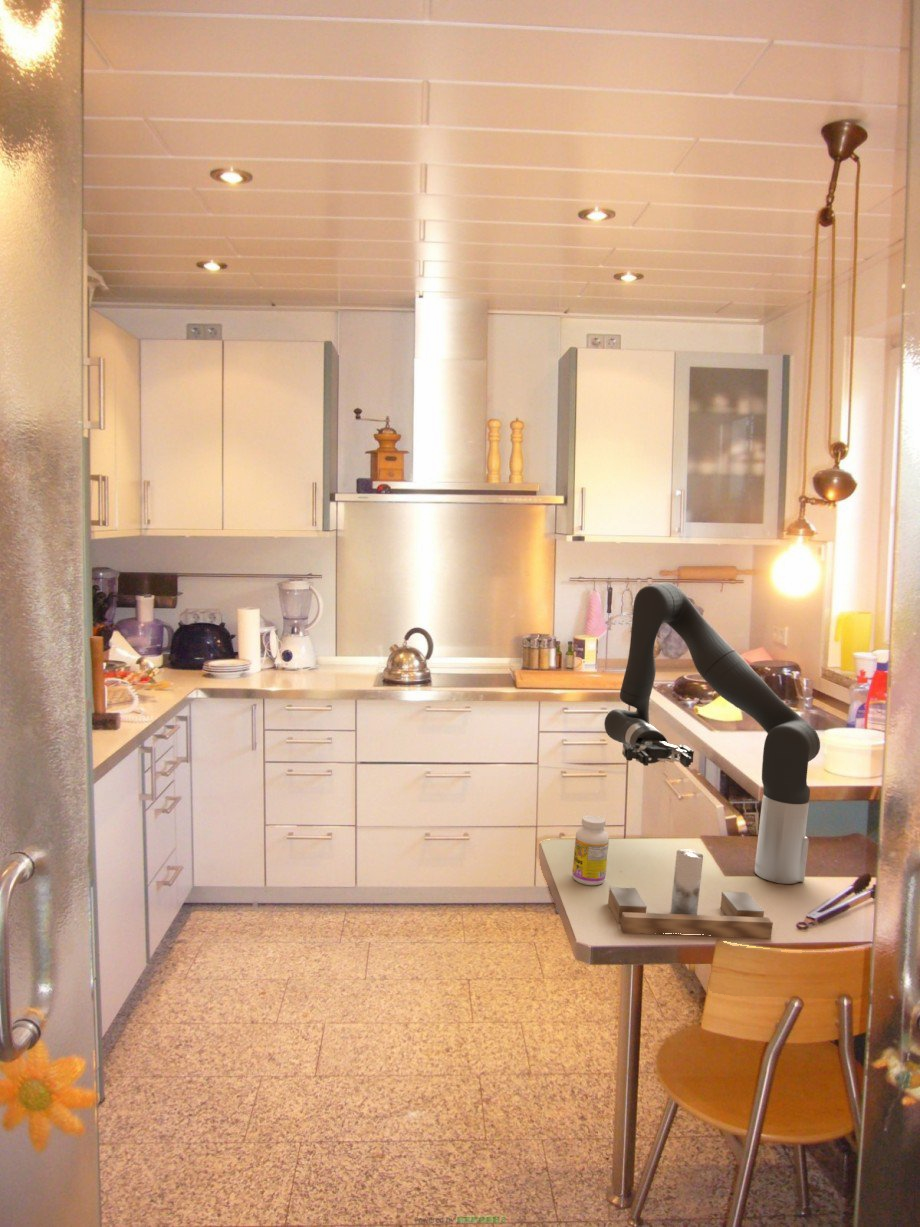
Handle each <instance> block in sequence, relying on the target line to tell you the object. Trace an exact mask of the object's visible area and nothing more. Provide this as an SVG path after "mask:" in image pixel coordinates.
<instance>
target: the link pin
mask: <svg viewBox="0 0 920 1227" xmlns="http://www.w3.org/2000/svg"><path fill="white" fill-rule="evenodd" d="M703 860H704V855H703V854H702V852H700V851H697V850H695V849H688V848H681V849H678V850H677V851H676V855H675V865H674V875H673V886H672V894H671V905H670V913H671V914H686V915H698V908H699V900H700V899H699V897H700V891H701V890H700V889H701V882H702V881H701V880H702V870H703V862H704V861H703Z"/></svg>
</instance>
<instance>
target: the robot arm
mask: <svg viewBox="0 0 920 1227" xmlns="http://www.w3.org/2000/svg"><path fill="white" fill-rule="evenodd" d="M662 624H667V625H668V626H669V627H670V628H672V629H673V631H674V632H675V633H676V634H678V636H679V637H680V638H681V639H682V640H683V642H684V643H685V645H686V646H687V649H688V651H689V654H690V657H691V659H692V662H693V665H694V666H695V670H697V672H698V674H699V675H700V676H701V677H702V679H703V680H704V681H705V682H706V683H707V684H708V685H709V686H710V687H711V689H713V690H714V692H716V693H717V695H719V696H720V697H721V698H723V699H724V700H725V701H727V702H728V703H730V704H732V705H733V706H734V707H736V708H737V709H739V710H741V711H742V712H744V713H746V715H749V716H750V717H751V718H752V719H754V721H756V723H758V724H759V726H760V727H762V729H763V730H764V731H765V732H766V734H767V735H766V737H765V740H764V746H763V752H762V762H761V763H762V764H761V783H762V785H763V787H762V788H763V790H762V800H761V808H760V809H761V810H760V817H759V825H758V826H759V827H758V836H757V844H756V845H757V846H756V851H755V861H754V874H756V875H757V876H758V877H760V878H761V879H764V880H766V881H769V882H771V883H777V884H783V885H787V884H788V885H791V884H797V883H800V882H805V874H806V867H807V866H806V865H807V858H808V849H809V841H810V840H809V837H808V836H807V835H806V832H807V831H806V830H807V823H808V813H809V804H810V799H811V798H810V796H811V790H810V787H809V786H808V782H807V778H808V768H809V762H811V761H812V760H814V759H815V758H816V757H817V756H818V754H819V752H820V749H821V740H820V737H819V735H818V733H817V731H816V730H815V728H814V727H813V726H812V724H810V723H809V722H808V721H807V720H805V719H804V718H803V717H802V716H801V715H800V714H798V713H797V712H796V711H795V710H794V709H792V708H791V707H790V706H789V705H788V704H787V703H785V702H784V701H783V700H782V699H781V698H780V697H779V696H778V695H777V694H776V693H775V692H774V690H772V688H771V687H770V686H769V685H768V684H767V683H766V682H765V681H764V679H762V677H761V676H760V675H759V674H758V673H757V672H756V671H755V670H754V669H753V668H752V666H750V664H748V662H747V661H746V660H745V659H744V658H743V656H741V655H740V654H739V653H738V651H736V649H734V648H733V647H732V646H731V645H730V644H729V643H728V642H727V641H726V640H725V639H724V638H723V637H722V636H721V635H720V634H719V633H718V631H716V629H714V627H713V626H711V624H710V623H708V621H707V619H706V618H704V617H703V615H701V613H700V612H699V610H698V608H696V607H695V604H693V603H692V601H691V600H690V599H689V598H688V596H687V595H686V594H685V593H684V591H683V590H682V589H681V588H680V587H679V586H678V585H675V584H674V583H671V582H668V581H667V582H666V581H664V582H659V583H654V584H653V583H652V584H648V585H646V586H644V587H642V588H640V589H639V590H638V591H637V593H636V594H635V597H634V602H633V608H632V618H631V632H630V640H629V653H628V659H627V662H626V663H627V664H626V666H625V667H626V668H625V672H624V675H623V676H624V677H623V679H622V683H621V688H620V692H619V699H620V701H622V703H624V704H626V705H628V706H630V707H633V708H635V709H636V710H635V711H633V710H627V709H617V708H615V709H612V710H611V711H610V710H609V712H608V713H607V714H606V717H605V719H604V730H605V732H606V735H607V736H608V737H609V738H611V740H613V741H616V742H619V743H622V753H621V754H622V755H623V757H624V758H625V759H626V760H627V761H629V762H630V761H633V759H635V762H638V763H640V764H642V765H643V766H649V764H656V763H659V762H662V761H665V762H669V763H672V764H673V763H680V764H681V765H682V766H683V767H685V768H689V767H690V766H691V764H692V763H694V754H695V750H693V749H691V748H690V747H689V746H687V745H686V744H683V743H681V744H679V747H678V746H677V745H674V744H671V743H669V742H668V740H667V738H666V736H665V735H664V734H663V733H662V732H661V731H659V730H658V728H656V727H654V726H653V725H652V724H650V712H649V710H650V701H651V700H650V698H651V694H652V690H653V688H654V682H655V678H656V669H657V668H656V660H655V658H656V657H655V643H656V639H657V636H658V634H659V630H660V628H661V626H662Z"/></svg>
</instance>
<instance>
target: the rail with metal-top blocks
mask: <svg viewBox="0 0 920 1227" xmlns="http://www.w3.org/2000/svg"><path fill="white" fill-rule="evenodd" d="M608 891H609V892H608V901H607V904H608V906H609V908H610V910H611V913H612V915H613V916H614V919H615V920H616V922H617V923H618V924H620V929H621V931H622V933H623V934H631V933H633V934H634V933H645V934H644V935H658V934H663V933H664V934H665V933H672V934H673V933H674V934H675V933H677V934H678V933H679V934H680V933H681V934H701V935H702V934H704V935H711V936H710V937H715V936H716V937H717V938H718V937H719V938H744V939H745V938H746V939H747V938H748V939H749V938H751V939H752V938H753V939H772V934H773V933H772V932H773V924H774V922H773V921H772V920H771V919H770V918H769V917H765V916H764V915H765V911H764V909H763V908H762V907H761V906H760V905H759V904H758V903H757V901H755V899H754V898H753V897H752V896H751V895H750V893H749V892H745V891H744V892H743V891H721V900H720V909H721V911H722V912H723V913H724V914H725V915H713V914H712V915H711V914H709V915H707V914H697V915H686V914H670V913H658V912H657V913H653V912H651V913H649V912H647V905H646V904H645V902H644V900H643V898H642V897H641V894H639V892H638V890H637V889H636V887H613V886H609V888H608ZM647 933H648V934H647ZM649 933H650V934H649ZM655 933H656V934H655ZM633 934H632V935H633ZM634 935H635V934H634Z"/></svg>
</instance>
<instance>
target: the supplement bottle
mask: <svg viewBox="0 0 920 1227" xmlns="http://www.w3.org/2000/svg"><path fill="white" fill-rule="evenodd" d="M581 818H582V819H581V825H582V827H580V828H579V829H577V831H575V842H574V853H573V862H572V863H573V864H572V878H573V879H574V881H576V882H577V883H579V884H582V885H586V886H597V885H601V884H603V883H604V882H605V880H606V874H607V873H606V872H607V862H608V853H609V852H608V851H609V839H610V836H609V834H608V832H607V831H606V830H605V827H606V819H605V818H604V817H602V816H599V815H595V814H586V815H583V816H582V817H581Z"/></svg>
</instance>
